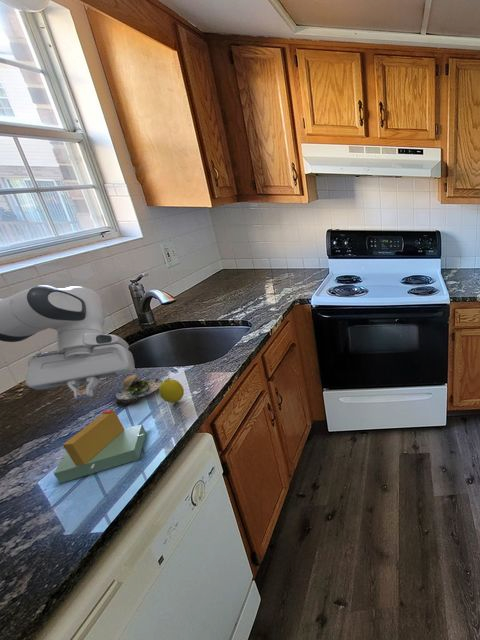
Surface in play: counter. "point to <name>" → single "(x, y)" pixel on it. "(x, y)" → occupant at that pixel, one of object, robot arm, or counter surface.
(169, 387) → the lemon
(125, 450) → the panel
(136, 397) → the plate of food
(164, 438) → the counter surface
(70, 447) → the mustard yellow rectangular block
